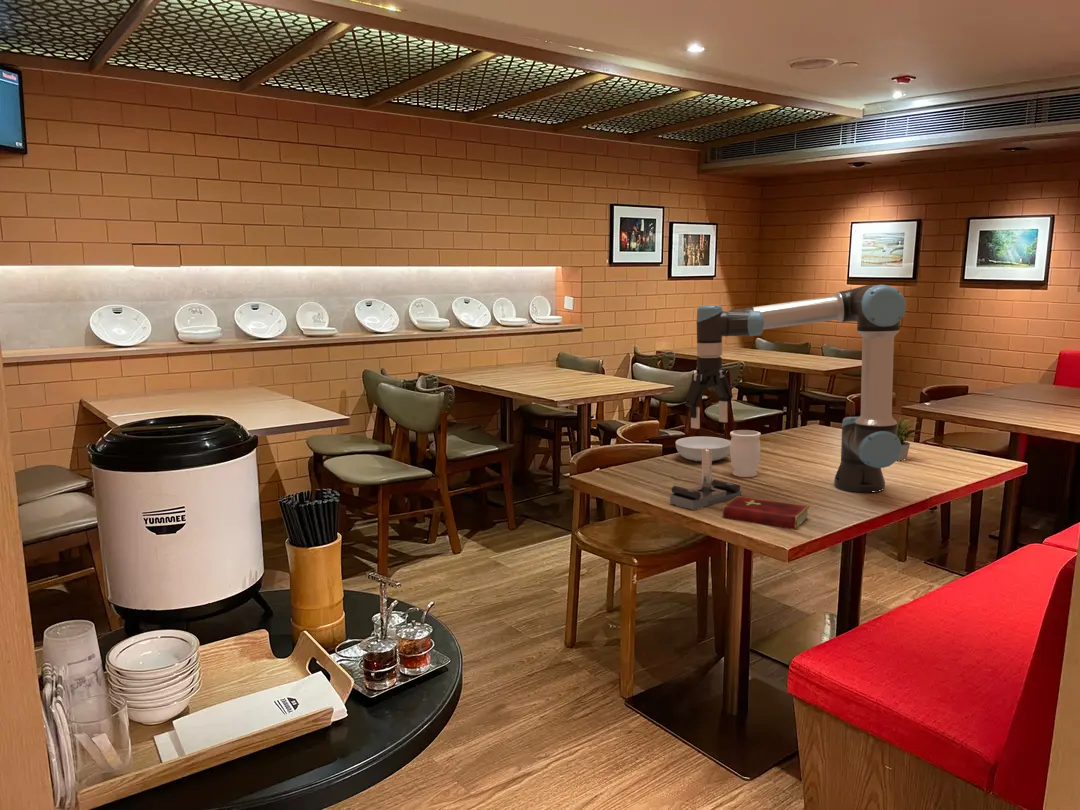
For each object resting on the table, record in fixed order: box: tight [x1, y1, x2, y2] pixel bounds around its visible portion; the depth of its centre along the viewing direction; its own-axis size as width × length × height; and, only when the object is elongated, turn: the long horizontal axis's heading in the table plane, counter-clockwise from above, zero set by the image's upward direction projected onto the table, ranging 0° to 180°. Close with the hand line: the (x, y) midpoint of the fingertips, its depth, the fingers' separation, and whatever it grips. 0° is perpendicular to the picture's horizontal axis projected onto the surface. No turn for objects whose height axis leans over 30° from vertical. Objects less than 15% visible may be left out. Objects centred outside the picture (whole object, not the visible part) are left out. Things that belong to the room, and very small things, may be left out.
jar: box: [729, 429, 762, 478], centre depth 265 cm, size 11×10×15 cm
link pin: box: [701, 448, 713, 493], centre depth 236 cm, size 3×3×16 cm
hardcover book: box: [722, 495, 810, 530], centre depth 218 cm, size 12×21×4 cm, turn 55°
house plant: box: [897, 415, 924, 460], centre depth 281 cm, size 14×14×16 cm
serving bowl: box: [675, 436, 731, 462], centre depth 290 cm, size 21×21×7 cm
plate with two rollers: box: [669, 479, 742, 511], centre depth 237 cm, size 9×23×5 cm, turn 128°
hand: (709, 425), depth 236 cm, fingers open, 13 cm apart
